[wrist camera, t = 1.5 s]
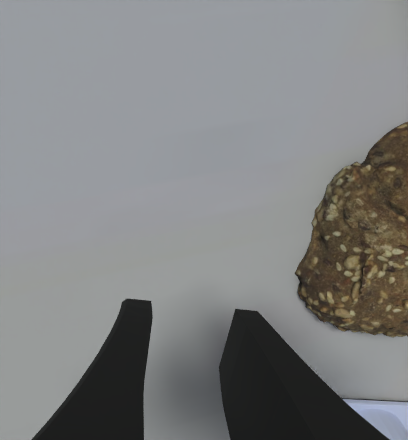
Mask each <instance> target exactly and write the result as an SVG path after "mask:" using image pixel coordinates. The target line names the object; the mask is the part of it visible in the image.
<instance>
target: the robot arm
mask: <svg viewBox="0 0 408 440" xmlns="http://www.w3.org/2000/svg"><path fill="white" fill-rule="evenodd" d="M152 318H153V317H152V305H151V301H146V300H135V299H126V300H124V301H123V302H122V305H121V309H120V312H119V315H118V317H117V319H116V322H115V324H114V326H113V328H112V330H111V332H110V334H109V335H108V337H107V339H106V340H105V342H104V344H103V346H102V347H101V349H100V351H99V353H98V354H97V356H96V357H95V359H94V360H93V362H92V363H91V365H90V366H89V368H88V369H87V371H86V372H85V374H84V375H83V376H82V378H81V379H80V381H79V382H78V384H77V385H76V386H75V388H74V389H73V390H72V392H71V393H70V394H69V396H68V397H67V398H66V400H65V401H64V402H63V403H62V405H61V406H60V407H59V408H58V410H57V411H56V412H55V413H54V414H53V416H52V417H51V418H50V419H49V420H48V422H47V423H46V424H45V425H44V426H43V427H42V428H41V430H40V431H39V432H38V433H37V434H36V435H35V436H34V437H33V439H32V440H144V417H143V391H144V378H145V370H146V363H147V355H148V348H149V341H150V333H151V326H152ZM219 372H220V383H221V392H222V401H223V407H224V412H225V416H226V421H227V425H228V430H229V434H230V439H231V440H408V402H392V401H372V400H353V399H341V398H340V397H339V396H338V395H337V394H336V393H335V392H334V391H333V390H332V389H331V388H330V387H329V386H328V385H327V384H326V383H325V382H324V381H323V380H322V379H321V378H320V377H319V376H318V375H317V374H316V373H315V372H314V371H313V370H312V369H311V368H310V367H309V366H308V365H307V364H306V363H305V362H304V361H303V360H302V359H301V358H300V357H299V356H298V355H297V354H296V353H295V352H294V350H293V349H292V348H291V347H290V346H289V345H288V344H287V343H286V342H285V341H284V340H283V338H282V337H281V336H280V335H279V334H278V333H277V332H276V331H275V330H274V329H273V327H272V326H271V325H270V324H269V323H268V322H267V321H266V320H265V319H264V318H263V317H262V316H261V315H260V314H259V313H258V312H257V311H251V310H240V309H235V313H234V316H233V320H232V323H231V327H230V330H229V334H228V337H227V341H226V344H225V348H224V352H223V355H222V359H221V362H220V366H219Z"/></svg>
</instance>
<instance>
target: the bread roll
mask: <svg viewBox="0 0 408 440" xmlns="http://www.w3.org/2000/svg"><path fill="white" fill-rule="evenodd" d="M312 224H313V226H314V228H313V231H312V239H311V242H310V244H309V247H308V250H307V253H306V254H305V256H304V258H303V259H302V261H301V262H300V264H299V265H298V267H297V270H296V272H295V274H296V275H297V276H298V279H299V280H300V284H299V287H298V294H299V296H300V298H301V299H302V300H304V301H305V302H306V307H307V308H309V309H311V310H312V312H313V313H314V314H316V315H317V316H318V318H319V319H320V320H321V321H323V322H326V321H328V322H331V323H332V324H333V325H335V326H336V327H337V328H338V329H339V330H341V331H346V330H351V331H352V332H358V331H360V332H362V333H363V332H366V333H370V334H373V335H377V334H380V333H383V334H384V335H386V336H389V337H395V336H398V337H403V336H406V335H407V336H408V122H406V123H404V124H402V125H400V126H398V127H396V128H394V129H393V130H391V131H390V132H388V133H387V134H386V135H384V136H383V137H382V138H381V139H380V140H379V141H378V142H377V143H376V144H375V145H374V146H373V147H372V148H371V150H370V151H369V153H368V155H367V157H366V159H365V161H364V162H363V163H362V164H359V163H358V162H355V163H354V164H352V165H350V166H345V167H344V168H343V169H342V170H341V171H340V172H338V173H337V174H336V175H335V176H334V178H333V180H332V181H331V182H330V183H329V184H328V185H327V189H326V193H325V196H324V199H323V200H322V201H321V203H320V204H319V206H318V207H317V208H316V210H315V217H314V219H313V221H312Z"/></svg>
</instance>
